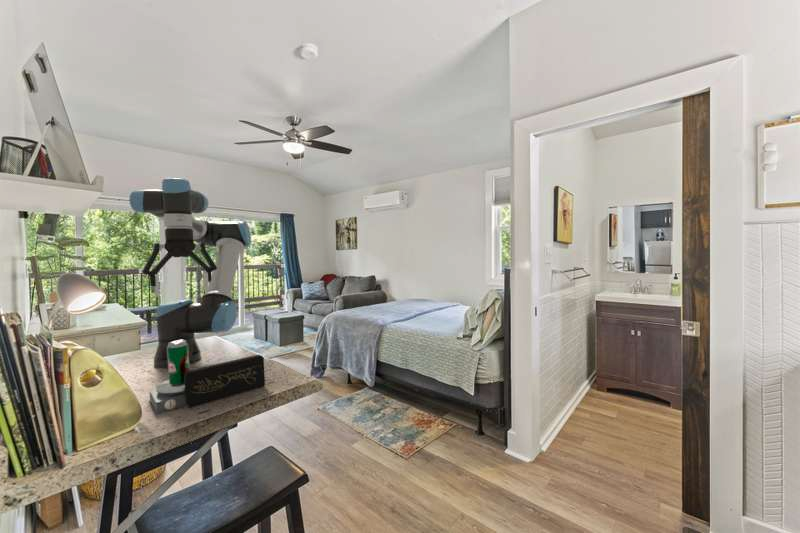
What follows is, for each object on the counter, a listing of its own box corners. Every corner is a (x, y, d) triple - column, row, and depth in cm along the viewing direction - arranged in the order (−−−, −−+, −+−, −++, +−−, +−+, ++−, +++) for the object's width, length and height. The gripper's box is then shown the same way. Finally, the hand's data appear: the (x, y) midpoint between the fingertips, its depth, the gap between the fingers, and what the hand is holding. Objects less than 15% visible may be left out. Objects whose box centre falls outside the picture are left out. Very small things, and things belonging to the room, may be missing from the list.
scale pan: (153, 388, 98) (153, 382, 98) (196, 377, 106) (196, 372, 106) (160, 400, 90) (160, 394, 90) (206, 387, 98) (206, 382, 98)
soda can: (166, 383, 98) (164, 342, 97) (186, 377, 101) (183, 338, 101) (172, 387, 94) (170, 345, 93) (192, 381, 98) (190, 341, 97)
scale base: (150, 400, 98) (149, 390, 97) (200, 386, 107) (200, 377, 106) (157, 414, 89) (156, 403, 89) (211, 397, 98) (211, 387, 98)
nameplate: (262, 384, 108) (261, 354, 107) (265, 386, 106) (263, 355, 105) (186, 406, 94) (183, 371, 93) (187, 409, 92) (185, 373, 92)
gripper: (130, 226, 97) (136, 300, 98) (224, 228, 114) (228, 290, 116) (127, 227, 102) (132, 297, 104) (217, 229, 119) (221, 288, 121)
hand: (183, 294), depth 110 cm, fingers open, 13 cm apart
